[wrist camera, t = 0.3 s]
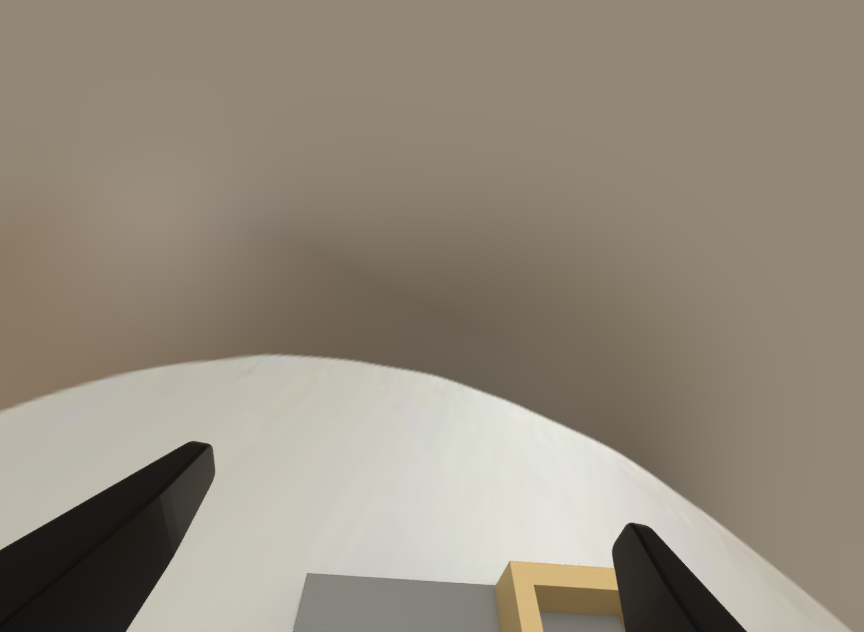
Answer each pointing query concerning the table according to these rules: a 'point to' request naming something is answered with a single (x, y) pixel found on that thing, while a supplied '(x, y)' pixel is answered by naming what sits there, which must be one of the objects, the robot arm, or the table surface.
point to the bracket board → (466, 602)
